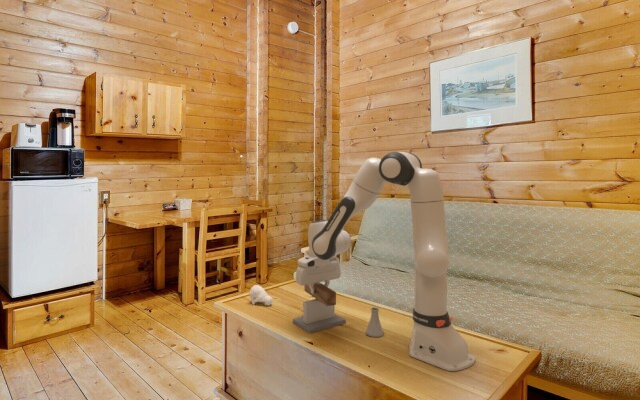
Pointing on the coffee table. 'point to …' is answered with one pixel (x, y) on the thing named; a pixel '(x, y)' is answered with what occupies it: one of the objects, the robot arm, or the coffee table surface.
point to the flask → (374, 324)
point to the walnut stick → (322, 294)
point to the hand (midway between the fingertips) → (319, 292)
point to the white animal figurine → (259, 295)
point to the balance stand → (317, 317)
